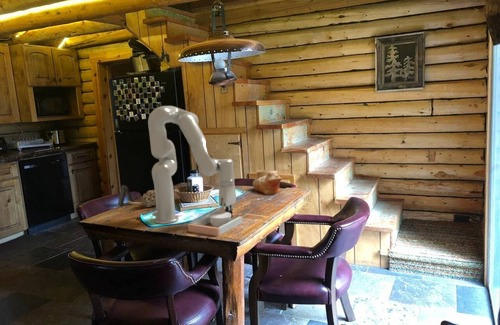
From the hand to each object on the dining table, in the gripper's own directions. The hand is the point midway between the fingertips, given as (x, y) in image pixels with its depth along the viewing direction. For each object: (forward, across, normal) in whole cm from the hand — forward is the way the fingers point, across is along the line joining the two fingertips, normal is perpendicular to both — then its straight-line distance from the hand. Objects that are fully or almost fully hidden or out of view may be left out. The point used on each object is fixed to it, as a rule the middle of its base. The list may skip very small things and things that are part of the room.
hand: (229, 217), depth 206 cm
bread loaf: (+2, -66, -10) cm, 67 cm away
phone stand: (+1, -5, -79) cm, 79 cm away
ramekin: (+1, +8, 0) cm, 8 cm away
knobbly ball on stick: (+1, -4, -61) cm, 61 cm away
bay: (+1, +12, 0) cm, 12 cm away
